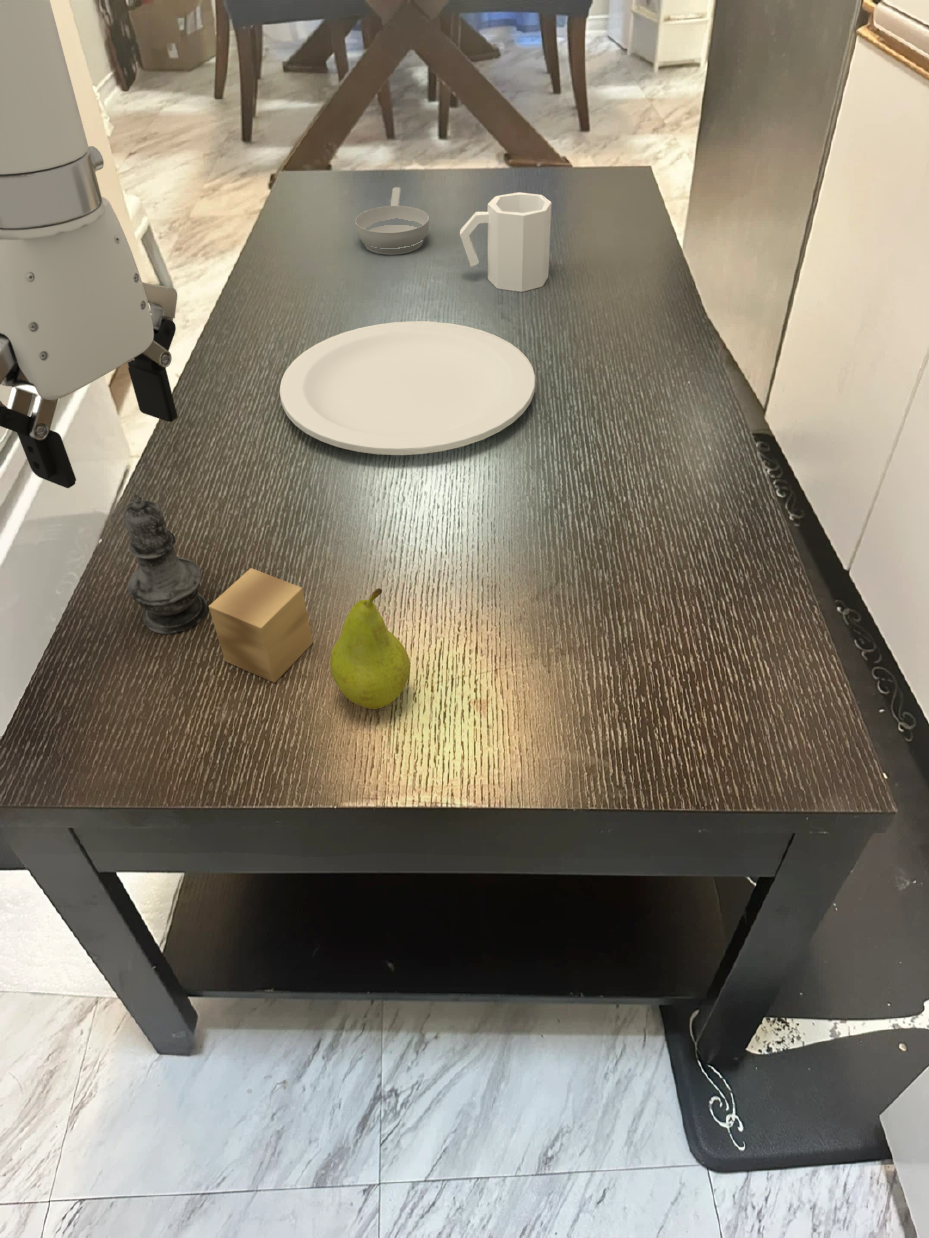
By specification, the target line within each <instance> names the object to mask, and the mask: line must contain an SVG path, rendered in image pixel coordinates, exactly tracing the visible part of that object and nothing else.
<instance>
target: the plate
mask: <svg viewBox="0 0 929 1238" xmlns="http://www.w3.org/2000/svg"><path fill="white" fill-rule="evenodd" d="M535 386H536V375H535V371H534V367H533V366H532V363H531V362H530V360H529V359H528V357H527V356H526V355H525V354H524V353H523V352H522V351H521V350H520V349H519V348H518V347H516V346H515V345H513V344H512V343H510V342H509V341H507V340H505V339H503V338H501V337H499V336H497V335H495V334H492V333H490V332H487V331H485V330H482V329H478V328H475V327H471V326H467V325H461V324H454V323H451V322H439V321H420V320H418V321H417V320H416V321H415V320H413V321H412V320H411V321H394V322H386V323H378V324H373V325H368V326H363V327H359V328H354V329H351V330H348V331H344V332H341V333H339V334H335V335H333V336H330V337H328V338H326V339H324V340H322V341H320V342H318V343H316V344H314V345H312V346H311V347H310V348H308V349H306V350H305V351H303V352H302V353H301V354H300V355H298V356H297V357H296V358H295V359H294V360H292V362H291V363H290V364H289V366H288V367H287V368H286V370H285V371H284V373H283V376H282V377H281V380H280V386H279V396H280V401H281V402H280V403H281V406H282V407H281V408H282V409H283V411H284V413H285V415H286V416H287V418H288V419H289V420H290V421H291V422H292V423H293V425H294V426H295V427H297V428H298V429H299V430H300V431H302V432H303V433H305V434H306V435H308V436H310V437H312V438H314V439H315V440H318V441H320V442H322V443H325V444H328V445H331V446H334V447H335V448H340V449H345V450H349V451H353V452H358V453H364V454H372V455H383V456H386V455H387V456H411V455H424V454H425V455H426V454H432V453H438V452H439V453H440V452H446V451H449V450H454V449H458V448H462V447H465V446H468V445H469V446H470V445H471V444H474V443H478V442H480V441H483V440H485V439H487V438H489V437H491V436H493V435H496V434H497V433H499V432H501V431H503V430H504V429H507V427H509V426H511V425H512V424H513V423H515V422H516V421H517V420H518V419H519V418H520V417H521V416H522V415H523V414H525V412H526V410H527V408H528V407H529V406H530V405H531V402H532V400H533V399H534V398H533V397H534V395H535V389H536V387H535Z"/></svg>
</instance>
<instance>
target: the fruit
mask: <svg viewBox="0 0 929 1238" xmlns="http://www.w3.org/2000/svg"><path fill="white" fill-rule="evenodd" d="M382 593H383V590H382V588H381V587H378V588H376V589H375V590H374V591H372V593H371V595H370V597H369V598H368V599H361V600H359V601H357V602H356V603H354V605H353V606H352V607H351V608H350V610H349V612H348V614H347V616H346V618H345V620H344V622H343V625H342V627H341V632H340V635H339V638H338V639H337V640H336V642H335V643H334V645H333V647H332V650H331V652H330V657H329V666H330V673H331V676H332V679H333V682H334V683H335V684H336V686H337V687H338V689H339V691H340V692H341V693H342V694H343V695H344V697H346V699H347V700H349V701H350V702H352V703H353V704H355V705H357V706H360V707H362V708H365V709H369V710H377V709H381V708H384V707H386V706H388V705H390V704H392V703H393V702H395V700H396V699H397V698H398V697H399V696H400V695H401V694H402V693H403V691H404V689H405V687H406V685H407V683H408V681H409V678H410V673H411V664H410V657H409V654H408V652H407V650H406V648H405V647H404V645H403V644H402V642H401V641H400V640H399V639H398V637H397V636H395V635H394V633H392V632H391V631H390V630H388V627H387V625H386V622H385V620H384V618H383V616H382V615H381V613H380V611H379V610H378V608H377V604H376V603H374V600H376V598H378V597H379V596H380V595H381V594H382Z"/></svg>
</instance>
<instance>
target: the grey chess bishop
mask: <svg viewBox="0 0 929 1238" xmlns="http://www.w3.org/2000/svg"><path fill="white" fill-rule="evenodd" d="M122 517H123V519H122V520H123V522H124V525H125V528H126V531H127V533H128V536H129V538H130V541H129V543H128V551H129V553H130V554H131V555H132V556H133V557H135V558H136V562H137V564H138V567H139V568H138V569H136V570H134V572H133V573H132V575H131V576H130V577H129V579H128V582H127V592H128V594H129V597H130V598H131V599H132V600H134V601H135V602H136V603H137V604H138V605H139V606H140V607H141V608H142V609H144V610H143V613H142V622H143V623H144V626H145V627H146V628H147V629H148V630H150V631H152V632H154V633H156V634H162V635H173V634H179V633H183V632H185V631H188V630H191V629H193V628H194V627H195V626H197V625H198V624H200V622H202V620H203V619H204V617H205V616H206V614H207V611H208V602H207V600H206V599H205V597H204V596H203V595H202V594H201V593H199V592H200V588H201V582H202V578H203V577H202V569H201V568H200V567H199V565H198V564H197V563H196V562H195V561H193V560H191V559H188V558H186V557H180V556H178V555H177V552H176V549H175V545H176V542H177V541H176V536H175V535H174V533H173V532H171V531H169V530H168V527H167V524H166V521H165V517H164V515H163V512H162V509H161V508H160V506H159V505H158V504H157V503H156V502H154V501H152V500H148V499H143V498H142V497H141V496H140V495H138V494H135V495H134V496H133V498H132V502H131V503H130V504H128V505H127V506H126V507H125V509H124V511H123V513H122Z"/></svg>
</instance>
